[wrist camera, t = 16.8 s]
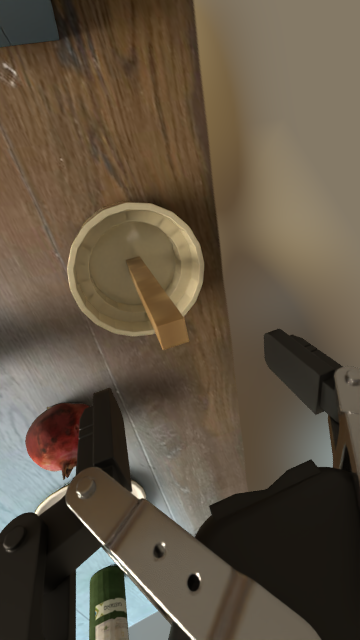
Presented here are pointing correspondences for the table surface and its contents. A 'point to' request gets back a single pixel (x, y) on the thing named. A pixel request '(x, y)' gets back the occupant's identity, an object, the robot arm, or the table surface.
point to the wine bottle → (108, 605)
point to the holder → (26, 22)
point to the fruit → (56, 437)
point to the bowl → (112, 272)
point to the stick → (158, 306)
